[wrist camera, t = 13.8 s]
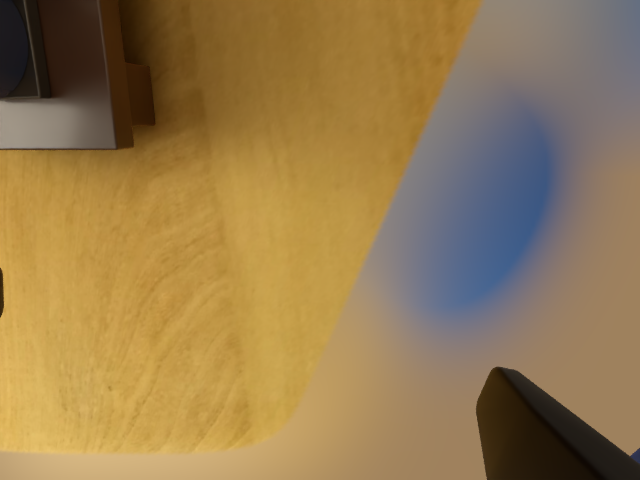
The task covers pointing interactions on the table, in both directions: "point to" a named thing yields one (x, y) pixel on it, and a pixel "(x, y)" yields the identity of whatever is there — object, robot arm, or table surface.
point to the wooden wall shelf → (81, 84)
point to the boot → (22, 52)
